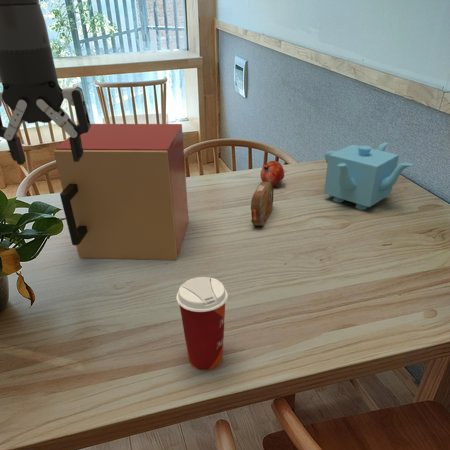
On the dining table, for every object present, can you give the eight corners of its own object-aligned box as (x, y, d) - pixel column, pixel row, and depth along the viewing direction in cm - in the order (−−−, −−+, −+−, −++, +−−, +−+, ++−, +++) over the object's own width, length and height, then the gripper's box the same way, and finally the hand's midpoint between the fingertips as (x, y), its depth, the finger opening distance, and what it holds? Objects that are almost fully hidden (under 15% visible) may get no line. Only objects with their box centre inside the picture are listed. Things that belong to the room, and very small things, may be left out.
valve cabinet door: (172, 274, 95) (160, 162, 81) (70, 271, 97) (41, 161, 82) (177, 257, 101) (167, 150, 86) (80, 255, 102) (55, 149, 88)
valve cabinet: (177, 257, 101) (167, 149, 86) (81, 255, 102) (55, 148, 88) (188, 222, 115) (181, 123, 101) (104, 220, 117) (85, 123, 102)
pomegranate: (269, 185, 140) (248, 171, 133) (284, 165, 137) (263, 150, 131) (282, 196, 135) (260, 182, 128) (297, 176, 133) (276, 160, 126)
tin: (261, 231, 110) (262, 199, 105) (248, 230, 111) (249, 198, 106) (274, 207, 122) (275, 177, 117) (262, 205, 123) (263, 176, 118)
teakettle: (317, 188, 132) (322, 137, 123) (380, 186, 132) (390, 135, 124) (331, 216, 117) (339, 160, 108) (403, 213, 117) (416, 157, 108)
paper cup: (236, 365, 73) (236, 295, 65) (193, 380, 70) (187, 310, 62) (216, 337, 79) (213, 269, 70) (175, 350, 76) (167, 282, 68)
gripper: (78, 39, 64) (98, 152, 74) (-24, 41, 63) (9, 156, 73) (69, 46, 58) (92, 168, 68) (-44, 48, 57) (-5, 172, 67)
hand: (49, 161), depth 70 cm, fingers open, 8 cm apart
